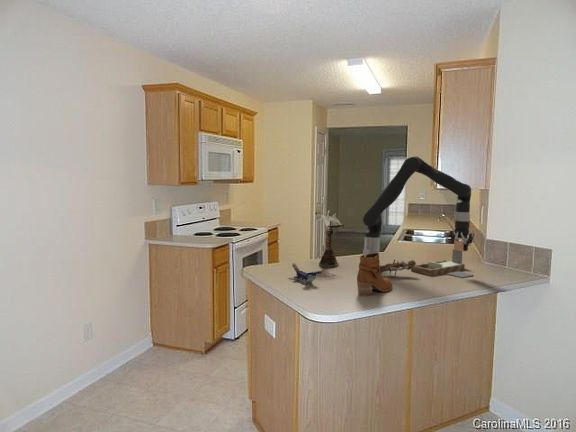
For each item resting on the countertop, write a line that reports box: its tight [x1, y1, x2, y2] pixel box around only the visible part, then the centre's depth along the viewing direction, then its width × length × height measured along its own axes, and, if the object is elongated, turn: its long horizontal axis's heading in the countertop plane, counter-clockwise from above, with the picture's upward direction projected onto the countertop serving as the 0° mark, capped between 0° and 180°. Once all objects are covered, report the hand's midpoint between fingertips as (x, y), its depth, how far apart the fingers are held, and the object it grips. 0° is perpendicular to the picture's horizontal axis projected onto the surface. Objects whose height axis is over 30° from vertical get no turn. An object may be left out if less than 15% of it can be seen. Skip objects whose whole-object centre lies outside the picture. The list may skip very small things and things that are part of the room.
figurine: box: [380, 259, 417, 278], centre depth 223 cm, size 10×10×28 cm
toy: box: [291, 262, 322, 284], centre depth 212 cm, size 10×23×10 cm, turn 27°
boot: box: [356, 252, 393, 297], centre depth 193 cm, size 24×9×19 cm, turn 125°
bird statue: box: [318, 209, 345, 269], centre depth 245 cm, size 17×13×35 cm
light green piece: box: [428, 248, 466, 269], centre depth 241 cm, size 22×9×9 cm, turn 121°
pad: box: [446, 271, 474, 279], centre depth 226 cm, size 10×10×1 cm
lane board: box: [410, 260, 466, 277], centre depth 238 cm, size 30×14×3 cm, turn 121°
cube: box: [453, 239, 465, 252], centre depth 225 cm, size 5×5×5 cm
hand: (460, 250), depth 225 cm, fingers closed on cube, 5 cm apart
